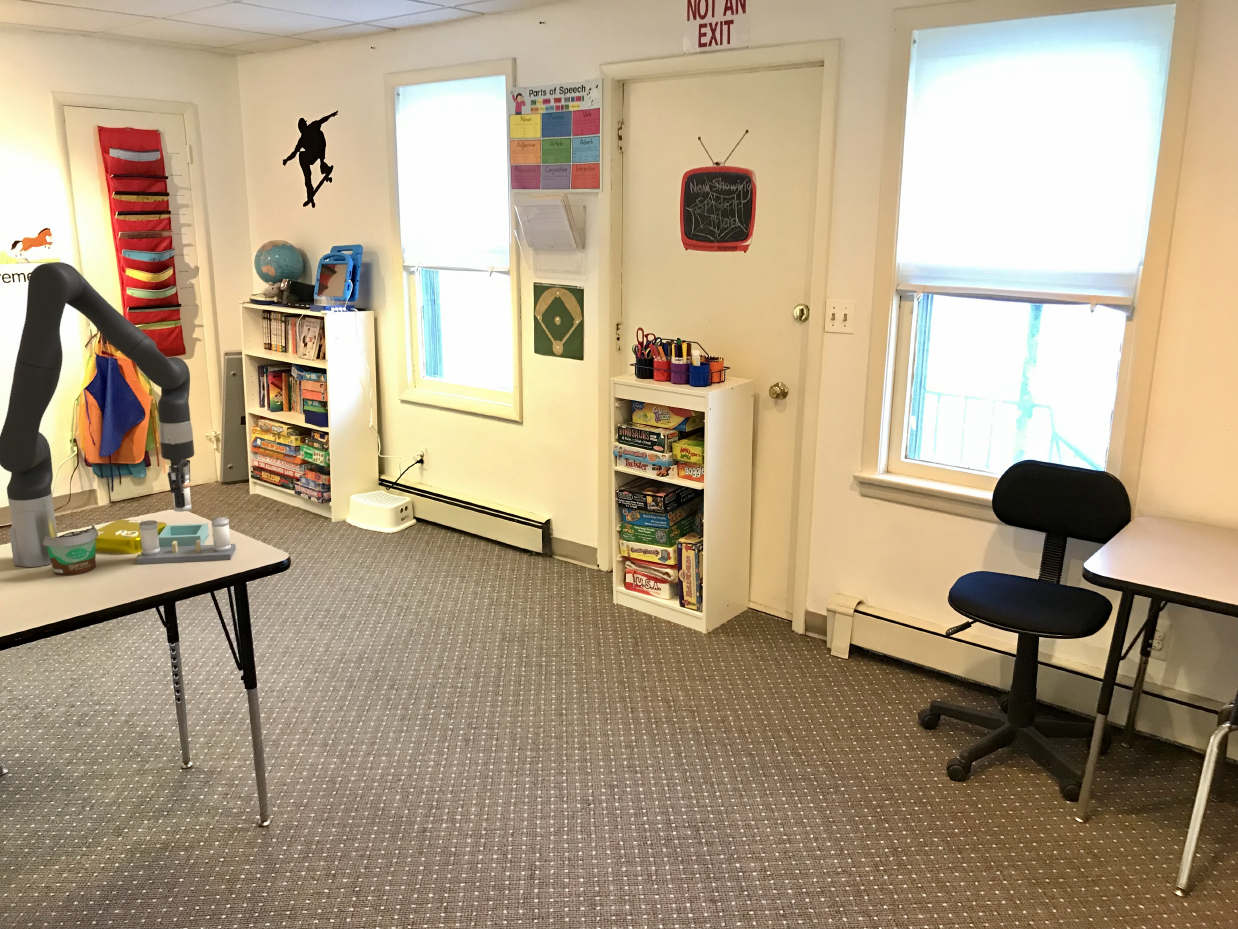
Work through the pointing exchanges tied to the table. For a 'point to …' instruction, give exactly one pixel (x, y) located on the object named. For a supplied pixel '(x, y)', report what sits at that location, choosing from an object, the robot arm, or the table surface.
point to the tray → (183, 535)
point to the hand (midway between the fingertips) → (182, 504)
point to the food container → (73, 552)
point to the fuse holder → (185, 553)
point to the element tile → (122, 537)
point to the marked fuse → (187, 497)
